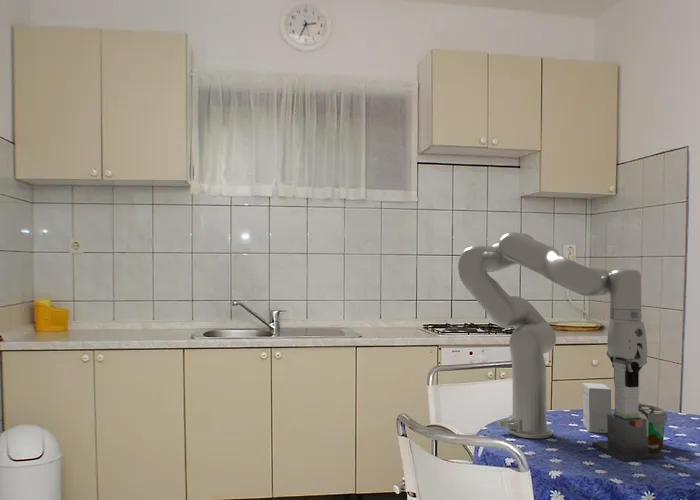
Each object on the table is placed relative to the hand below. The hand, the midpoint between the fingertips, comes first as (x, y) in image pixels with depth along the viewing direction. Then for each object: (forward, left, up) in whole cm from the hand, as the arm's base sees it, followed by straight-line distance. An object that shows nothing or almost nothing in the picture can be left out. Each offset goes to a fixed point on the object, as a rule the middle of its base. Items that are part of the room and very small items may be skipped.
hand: (626, 384), depth 149 cm
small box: (+6, +20, -18) cm, 28 cm away
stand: (0, 0, -18) cm, 18 cm away
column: (0, 0, -10) cm, 10 cm away
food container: (+11, +3, -18) cm, 21 cm away
